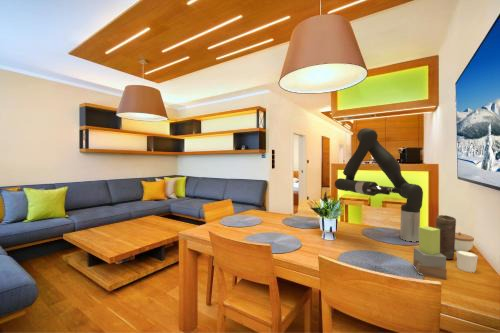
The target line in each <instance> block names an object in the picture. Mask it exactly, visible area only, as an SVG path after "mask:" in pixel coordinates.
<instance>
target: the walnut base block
mask: <svg viewBox="0 0 500 333" xmlns="http://www.w3.org/2000/svg"><path fill="white" fill-rule="evenodd" d="M412 256H413V258H412V260H413V261H412V266H413V265H414V266H415V267H416V269H417V271H418V272H419V273H422V274H423V275H424V277H429V278H432V279H433V278H434V279H439V280H446V281H447V267H446V268H439V267H428V266H423V265H421V264H420V263H419V262H418V261H417V260H416V259H415V258H414V255H412ZM414 266H413V267H414ZM416 269H415V270H416ZM417 271H416V272H417Z"/></svg>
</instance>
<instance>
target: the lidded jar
mask: <svg viewBox="0 0 500 333" xmlns="http://www.w3.org/2000/svg"><path fill="white" fill-rule="evenodd" d="M474 240H475V238H474V237H473V236H471V235H469V234H465V233H461V231H460V232H459V231H458V232H455V249H454V252H456V251H467V252H470V250H472V249H473V246H474Z"/></svg>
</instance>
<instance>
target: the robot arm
mask: <svg viewBox="0 0 500 333" xmlns="http://www.w3.org/2000/svg"><path fill="white" fill-rule="evenodd" d="M378 137H379V136H378V133H377V131H376V130H375V129H372V128H367V127H365V128H361V129H360V130H359V131H358V132H357V134H356V138H357V141H358V146H357V148H356V149H355V151H354V153H353V154H352V156H350V158H349V159H348V161H347V163H346V164H345V167H344V169H343V172H342V174H343V175H344V176H345V178H343V177H342V178H337V179H336V180H335V181H334V187H335V188H336V189H337V190H340V191H344V192H352V193H357V194H361V195H365V196H370V197H374V196H376V195H387V196H389V195H391V194H398V195H399V196H400V197H401V198H404V199H406V202H405V203H404V204H401V206H400V228H399V230H400V234H399V235H400V239H401V240H402V239H403V240H402V241H405V240H406V241H405V242H409V241H412V242H411V243H417V242H416V241H419V227H421V225H420V224H421V222H420V221H421V209H422V207H423V198H424V191H423V187H422V186H420V185H419V184H414V183H409V182H408V181H407V180H406V178H404V176H403V175H402V170H401V165H400V163H399V162H398V160H397V159H396V158H395V156H394V155H393V154H391V153H390V152H389V151H388V150H387V149H386V148H385V147H384V146H383V145H382V144H381V143H380V142H379V141H378ZM368 153H369V154H370V156H371V157H372V158H373V160H374V161H375V163H376V164H377V166H378V167H379V168H380V170H381V171H382V172H383V173H384V174H385V175H386V177H387V178H388V180H389V181H390V182H391V183H392V185H393V186H386V185H385V186H384V185H378V183H377V182H376V181H370V180H355V178H356V177H355V176H356V174H357V173H358V171H359V169H360V167H361V165H362V163H363V161H364V159H365V157H366V156H367V154H368Z"/></svg>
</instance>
